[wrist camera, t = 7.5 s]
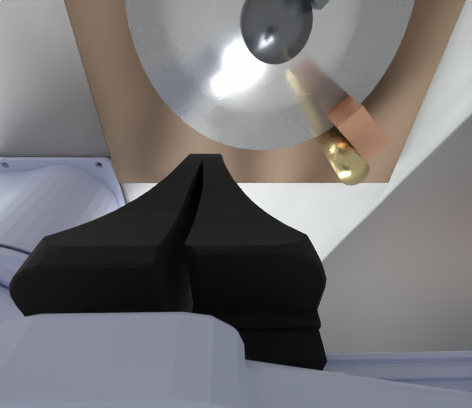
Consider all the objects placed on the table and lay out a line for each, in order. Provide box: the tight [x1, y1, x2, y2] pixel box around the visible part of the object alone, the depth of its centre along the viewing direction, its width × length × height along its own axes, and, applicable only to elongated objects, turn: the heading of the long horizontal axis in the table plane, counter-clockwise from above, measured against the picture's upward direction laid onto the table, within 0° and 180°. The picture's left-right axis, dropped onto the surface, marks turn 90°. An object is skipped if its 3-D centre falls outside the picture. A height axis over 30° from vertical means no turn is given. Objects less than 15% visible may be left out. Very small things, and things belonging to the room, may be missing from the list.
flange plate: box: [125, 0, 415, 161], centre depth 13 cm, size 16×16×4 cm
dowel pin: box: [316, 126, 370, 185], centre depth 17 cm, size 2×2×5 cm
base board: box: [64, 0, 466, 183], centre depth 15 cm, size 21×21×2 cm
